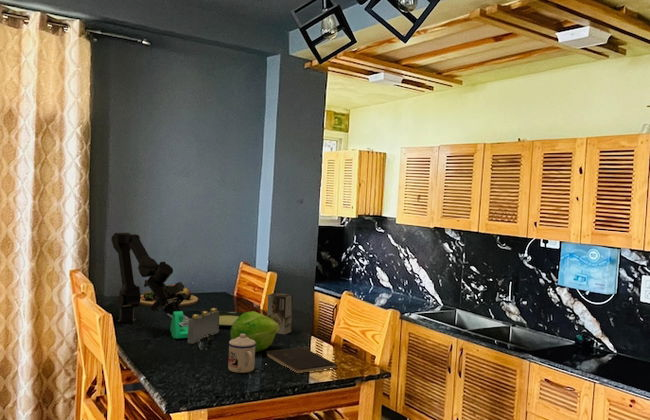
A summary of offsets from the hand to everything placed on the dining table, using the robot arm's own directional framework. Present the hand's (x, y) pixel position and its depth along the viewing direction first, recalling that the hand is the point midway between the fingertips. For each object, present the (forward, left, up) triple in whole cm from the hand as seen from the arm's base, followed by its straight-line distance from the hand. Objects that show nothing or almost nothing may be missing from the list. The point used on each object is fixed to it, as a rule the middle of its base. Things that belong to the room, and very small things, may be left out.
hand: (181, 318), depth 224 cm
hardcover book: (+35, +46, -7) cm, 59 cm away
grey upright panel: (+5, +10, -6) cm, 12 cm away
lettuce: (+21, +30, -7) cm, 38 cm away
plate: (-24, +18, -7) cm, 31 cm away
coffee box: (-8, +40, -7) cm, 41 cm away
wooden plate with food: (-68, -16, -7) cm, 70 cm away
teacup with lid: (+45, +26, -7) cm, 53 cm away
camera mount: (+3, +1, -7) cm, 8 cm away
